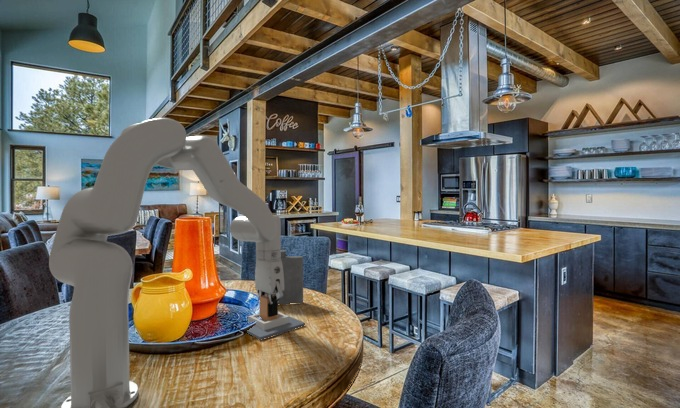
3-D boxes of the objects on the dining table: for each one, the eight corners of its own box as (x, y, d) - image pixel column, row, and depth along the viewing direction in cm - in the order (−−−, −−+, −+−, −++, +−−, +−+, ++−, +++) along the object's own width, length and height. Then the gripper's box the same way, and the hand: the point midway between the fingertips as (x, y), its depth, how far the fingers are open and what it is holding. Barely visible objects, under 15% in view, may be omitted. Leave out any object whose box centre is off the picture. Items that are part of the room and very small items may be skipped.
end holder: (305, 326, 110) (305, 316, 110) (260, 340, 99) (260, 330, 99) (275, 313, 121) (275, 304, 121) (232, 325, 110) (232, 316, 110)
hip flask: (303, 301, 135) (303, 249, 135) (302, 305, 131) (302, 251, 130) (261, 302, 134) (261, 249, 134) (259, 305, 130) (259, 251, 130)
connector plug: (277, 318, 110) (277, 293, 110) (266, 322, 107) (266, 295, 107) (270, 315, 113) (270, 290, 113) (259, 318, 110) (259, 293, 110)
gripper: (294, 257, 106) (294, 317, 107) (264, 250, 118) (264, 305, 119) (273, 260, 101) (273, 324, 101) (243, 253, 113) (244, 310, 113)
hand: (268, 313), depth 110 cm, fingers closed on connector plug, 4 cm apart
